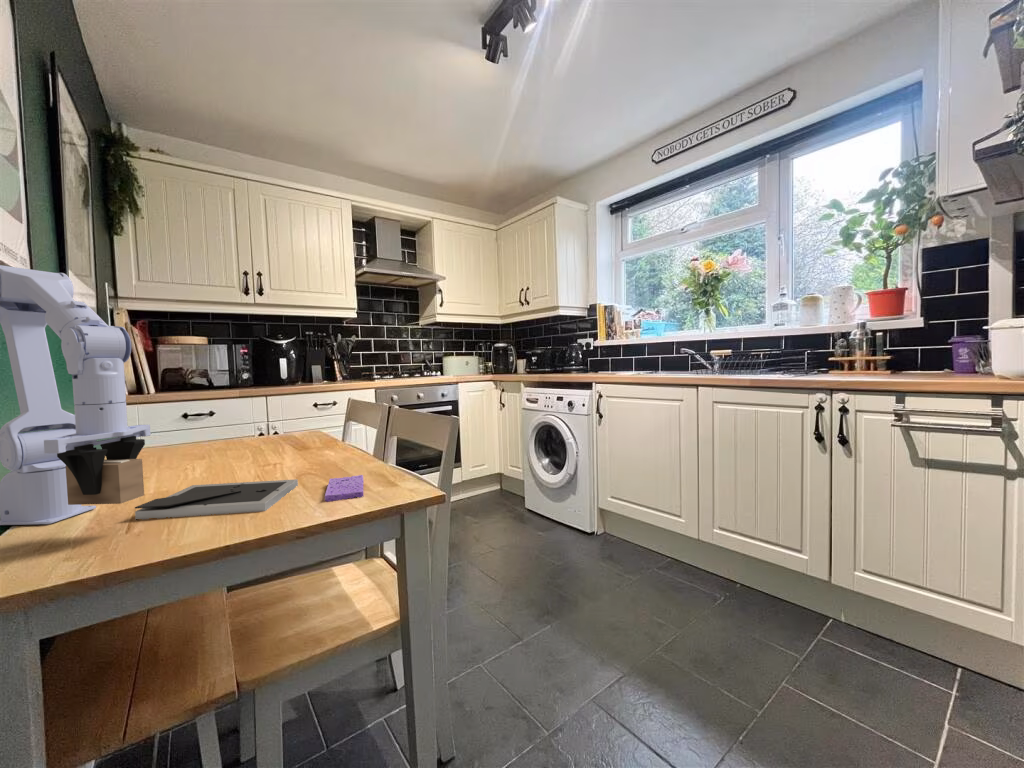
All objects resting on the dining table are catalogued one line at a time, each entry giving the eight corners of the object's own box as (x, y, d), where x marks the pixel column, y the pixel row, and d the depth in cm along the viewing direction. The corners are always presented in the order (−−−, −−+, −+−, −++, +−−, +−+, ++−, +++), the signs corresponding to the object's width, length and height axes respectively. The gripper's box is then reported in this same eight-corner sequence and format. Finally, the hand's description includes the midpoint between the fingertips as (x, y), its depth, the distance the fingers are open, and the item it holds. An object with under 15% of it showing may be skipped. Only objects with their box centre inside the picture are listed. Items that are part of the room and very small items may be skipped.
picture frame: (135, 523, 70) (265, 514, 73) (134, 507, 70) (264, 499, 73) (193, 495, 86) (298, 488, 89) (192, 481, 85) (297, 475, 88)
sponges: (363, 482, 92) (363, 474, 91) (363, 499, 80) (363, 490, 80) (329, 486, 89) (329, 478, 89) (324, 504, 77) (324, 494, 77)
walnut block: (68, 504, 62) (65, 464, 62) (94, 496, 66) (92, 458, 66) (120, 503, 62) (118, 463, 62) (144, 495, 66) (142, 457, 66)
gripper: (77, 407, 56) (83, 504, 57) (166, 399, 71) (170, 476, 71) (25, 408, 56) (33, 505, 57) (125, 399, 71) (130, 477, 71)
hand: (106, 489), depth 64 cm, fingers closed on walnut block, 4 cm apart
